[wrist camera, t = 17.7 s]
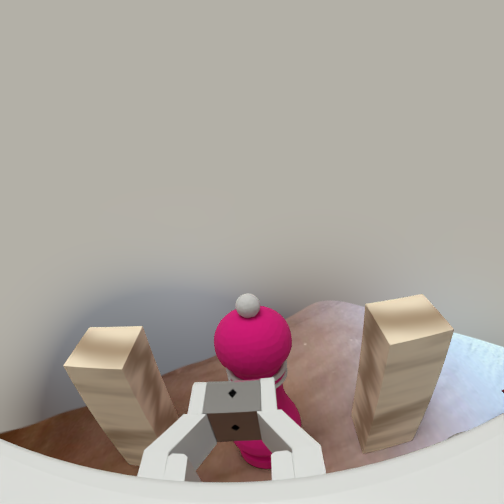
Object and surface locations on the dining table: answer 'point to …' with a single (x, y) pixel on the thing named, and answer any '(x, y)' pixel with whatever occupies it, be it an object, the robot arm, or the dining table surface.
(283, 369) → the pepper mill
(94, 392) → the beech block
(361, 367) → the beech block with 2
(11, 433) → the dining table surface
